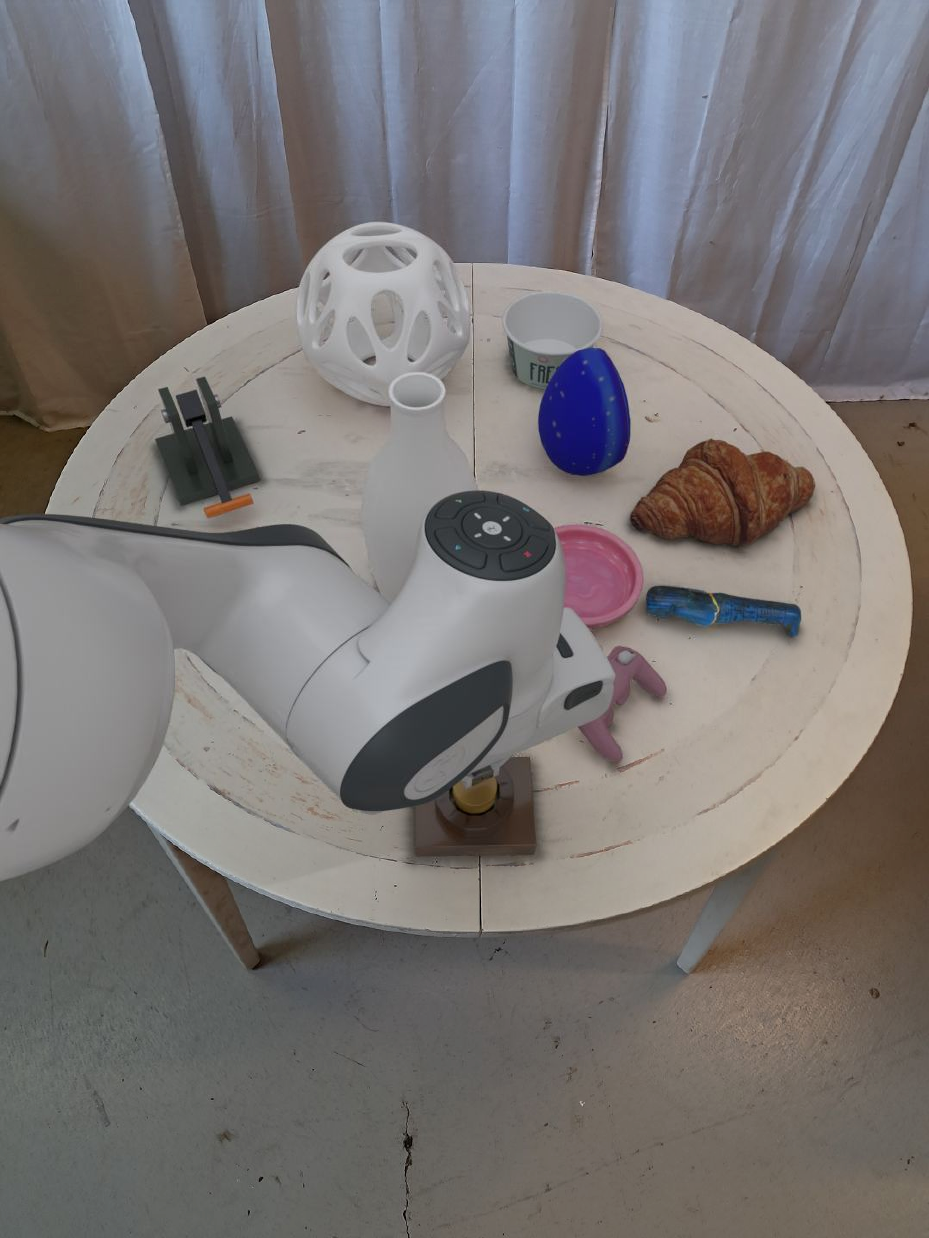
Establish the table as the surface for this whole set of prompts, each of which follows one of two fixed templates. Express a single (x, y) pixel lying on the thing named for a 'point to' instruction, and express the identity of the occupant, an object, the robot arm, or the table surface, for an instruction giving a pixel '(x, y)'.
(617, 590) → the saucer
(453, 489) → the bottle
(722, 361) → the table surface
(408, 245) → the decorative ball
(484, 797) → the button
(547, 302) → the food container
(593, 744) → the video game controller
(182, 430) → the switch bracket
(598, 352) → the ornament
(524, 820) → the button block
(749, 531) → the pastry
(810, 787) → the table surface
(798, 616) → the figurine
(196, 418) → the switch lever
